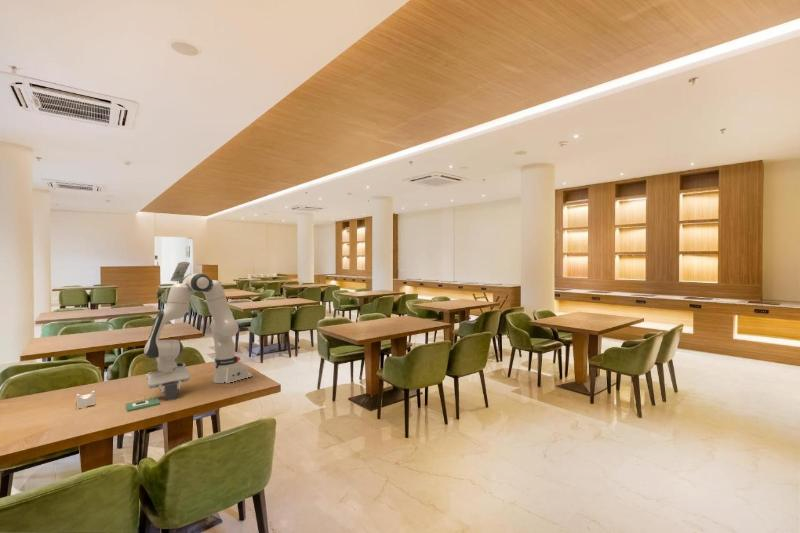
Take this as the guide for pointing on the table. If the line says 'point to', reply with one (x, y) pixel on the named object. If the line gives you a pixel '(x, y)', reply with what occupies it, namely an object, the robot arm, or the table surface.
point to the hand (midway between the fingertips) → (171, 390)
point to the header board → (142, 404)
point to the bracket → (85, 400)
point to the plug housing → (170, 391)
